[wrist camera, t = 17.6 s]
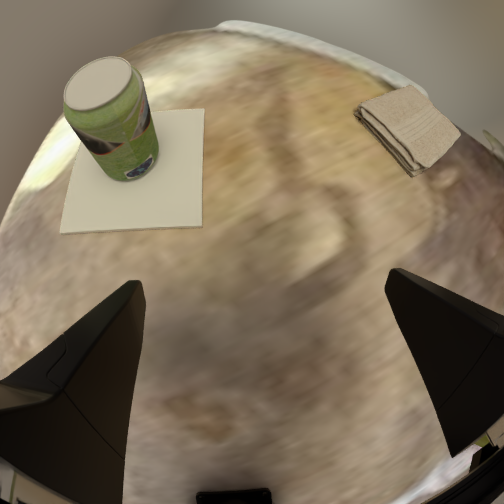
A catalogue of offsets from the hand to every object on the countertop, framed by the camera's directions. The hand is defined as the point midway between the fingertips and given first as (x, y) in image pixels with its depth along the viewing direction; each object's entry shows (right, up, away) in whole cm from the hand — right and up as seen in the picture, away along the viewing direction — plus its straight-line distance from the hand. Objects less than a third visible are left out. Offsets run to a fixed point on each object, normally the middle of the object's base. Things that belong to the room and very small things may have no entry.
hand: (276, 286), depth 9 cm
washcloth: (+22, +19, +23) cm, 37 cm away
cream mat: (-12, +10, +16) cm, 22 cm away
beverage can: (-12, +10, +15) cm, 22 cm away
